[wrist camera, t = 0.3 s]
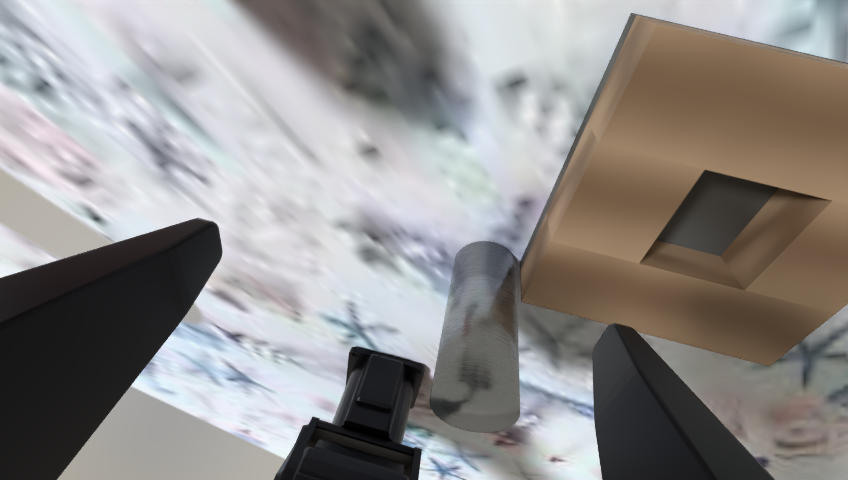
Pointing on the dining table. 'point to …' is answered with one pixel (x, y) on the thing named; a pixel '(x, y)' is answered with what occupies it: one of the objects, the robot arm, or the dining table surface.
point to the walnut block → (702, 195)
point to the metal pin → (479, 343)
